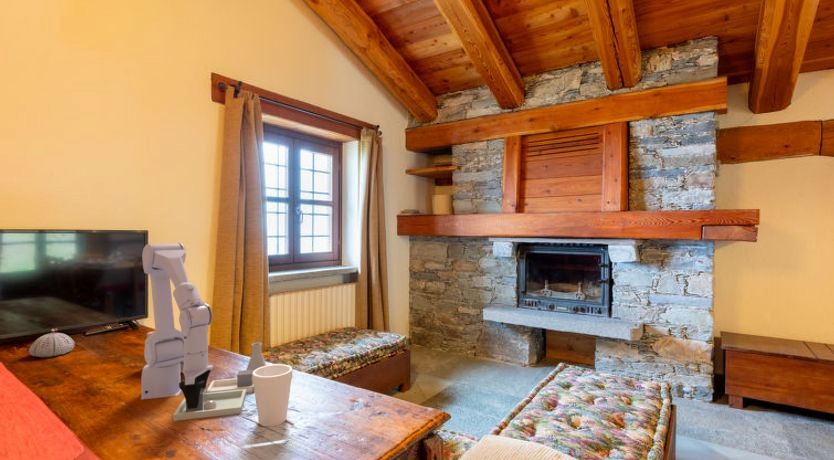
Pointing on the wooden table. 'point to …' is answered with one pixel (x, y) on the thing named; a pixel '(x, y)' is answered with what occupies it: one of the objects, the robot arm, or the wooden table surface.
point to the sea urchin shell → (51, 345)
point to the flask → (256, 357)
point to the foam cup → (272, 393)
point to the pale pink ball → (210, 405)
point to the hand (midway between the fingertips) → (196, 402)
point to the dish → (227, 386)
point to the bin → (224, 405)
